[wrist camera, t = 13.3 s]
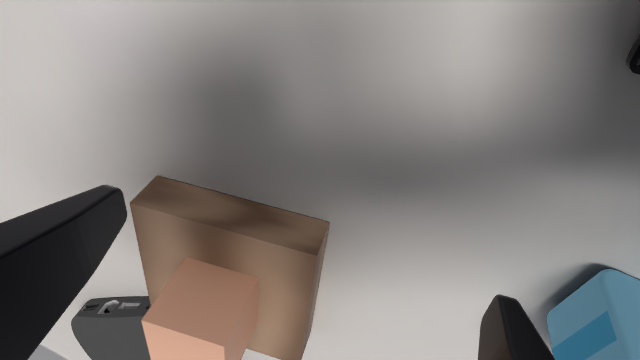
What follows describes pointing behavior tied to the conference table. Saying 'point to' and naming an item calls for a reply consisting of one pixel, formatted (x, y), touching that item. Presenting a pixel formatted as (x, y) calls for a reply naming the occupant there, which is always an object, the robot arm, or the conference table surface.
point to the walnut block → (236, 254)
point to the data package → (598, 320)
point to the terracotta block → (202, 314)
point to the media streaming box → (113, 328)
